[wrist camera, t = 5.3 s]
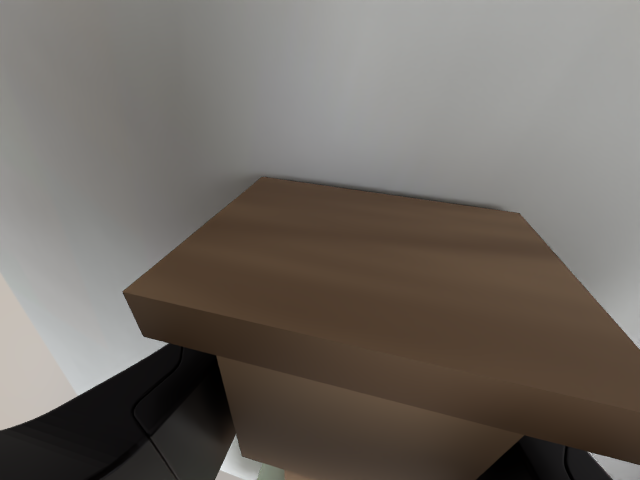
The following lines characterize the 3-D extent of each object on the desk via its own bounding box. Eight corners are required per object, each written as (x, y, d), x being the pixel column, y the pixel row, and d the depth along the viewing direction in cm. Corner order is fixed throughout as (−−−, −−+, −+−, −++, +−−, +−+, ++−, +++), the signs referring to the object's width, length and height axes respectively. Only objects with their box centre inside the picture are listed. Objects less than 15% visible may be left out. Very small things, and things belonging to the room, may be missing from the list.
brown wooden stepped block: (262, 176, 8) (122, 291, 4) (519, 213, 7) (709, 428, 3) (278, 438, 18) (243, 549, 14) (384, 470, 17) (382, 600, 13)
